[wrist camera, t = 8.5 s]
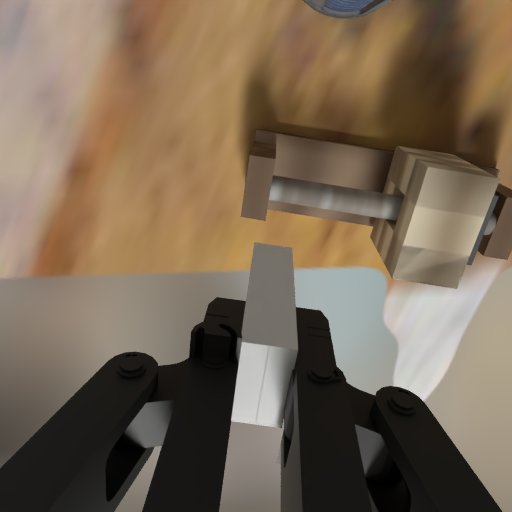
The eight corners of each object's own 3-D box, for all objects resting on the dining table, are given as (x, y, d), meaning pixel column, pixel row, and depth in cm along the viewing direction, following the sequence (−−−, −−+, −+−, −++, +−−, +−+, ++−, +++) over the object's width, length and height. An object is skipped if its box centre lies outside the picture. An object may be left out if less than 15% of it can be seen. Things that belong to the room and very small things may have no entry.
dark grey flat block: (432, 236, 38) (456, 262, 33) (453, 175, 36) (482, 193, 31) (445, 238, 39) (471, 265, 33) (467, 177, 36) (498, 196, 31)
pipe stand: (245, 202, 41) (239, 228, 35) (256, 128, 39) (251, 141, 32) (468, 239, 42) (503, 271, 35) (495, 168, 39) (538, 189, 32)
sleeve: (370, 236, 40) (392, 278, 33) (396, 145, 37) (427, 167, 29) (422, 245, 40) (456, 288, 33) (453, 154, 37) (500, 178, 29)
